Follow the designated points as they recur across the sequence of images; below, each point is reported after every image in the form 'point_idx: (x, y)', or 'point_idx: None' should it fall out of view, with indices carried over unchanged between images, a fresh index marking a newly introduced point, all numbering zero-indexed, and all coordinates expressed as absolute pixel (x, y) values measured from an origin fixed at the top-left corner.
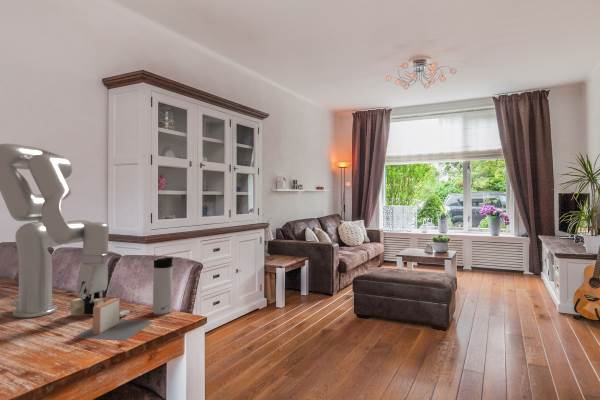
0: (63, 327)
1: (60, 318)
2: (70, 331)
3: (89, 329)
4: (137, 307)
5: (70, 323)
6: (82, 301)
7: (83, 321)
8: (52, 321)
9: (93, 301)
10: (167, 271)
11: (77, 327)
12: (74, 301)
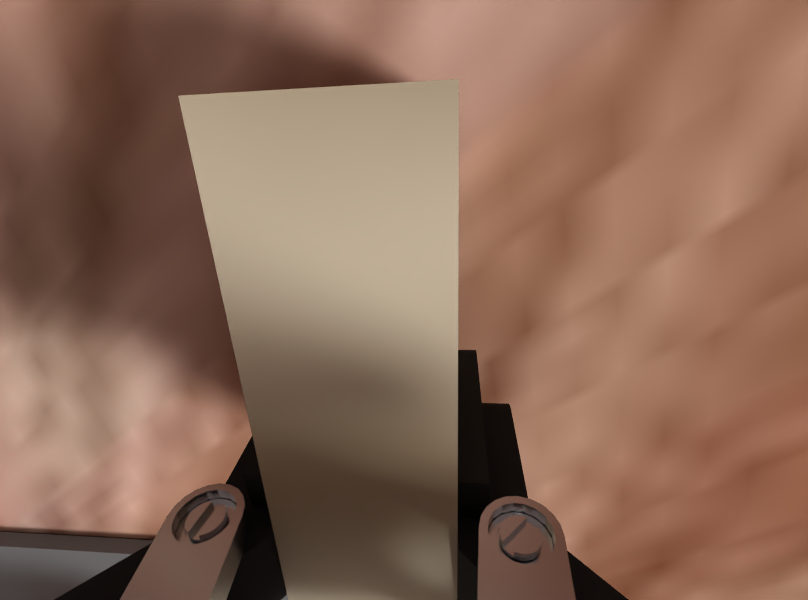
0: (26, 315)
1: (208, 8)
2: (9, 432)
3: (73, 558)
4: (763, 595)
5: (135, 298)
6: (258, 419)
7: (236, 379)
8: (69, 3)
9: (294, 597)
10: None
11: (96, 426)
12: (222, 225)
